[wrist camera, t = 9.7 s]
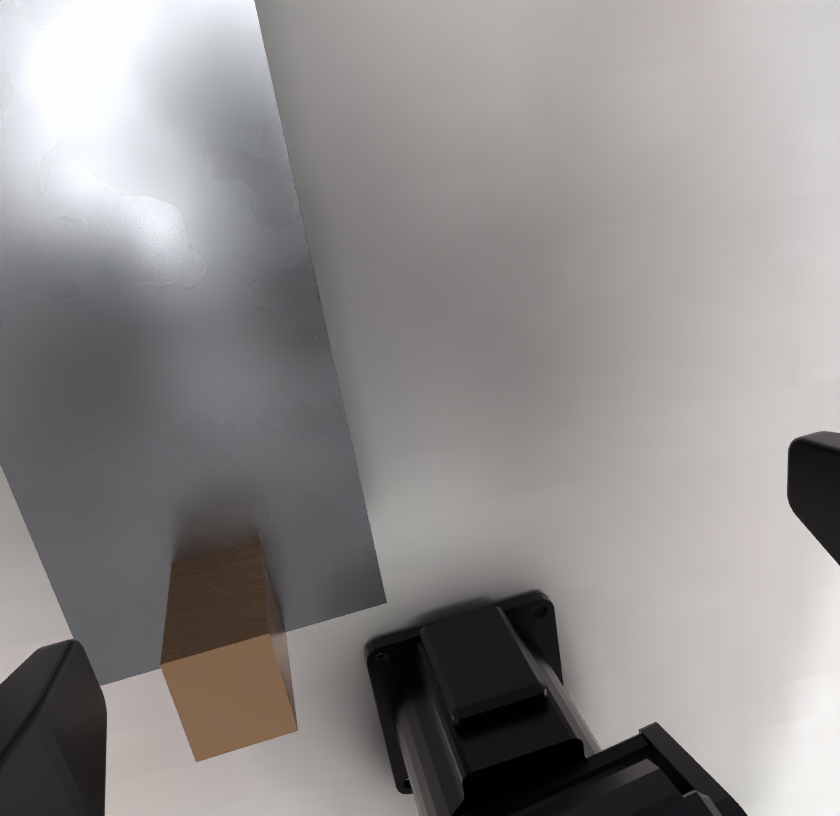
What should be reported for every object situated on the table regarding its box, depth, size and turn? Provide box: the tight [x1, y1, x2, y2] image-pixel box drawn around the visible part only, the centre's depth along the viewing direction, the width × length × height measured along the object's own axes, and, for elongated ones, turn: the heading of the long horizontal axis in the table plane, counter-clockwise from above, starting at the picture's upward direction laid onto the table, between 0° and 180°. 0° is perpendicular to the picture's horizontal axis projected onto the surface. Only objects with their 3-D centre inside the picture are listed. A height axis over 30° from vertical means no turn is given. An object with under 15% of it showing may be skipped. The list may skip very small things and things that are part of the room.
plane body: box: [0, 0, 387, 762], centre depth 15 cm, size 22×7×8 cm, turn 10°
